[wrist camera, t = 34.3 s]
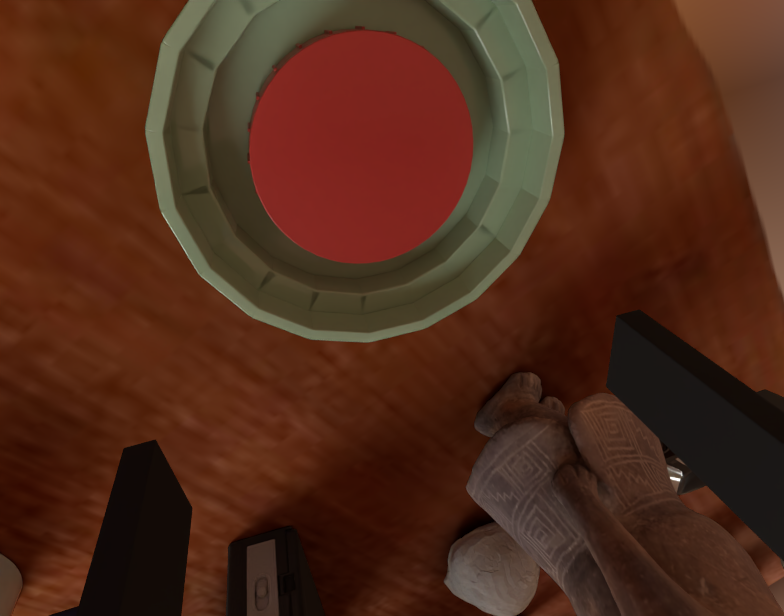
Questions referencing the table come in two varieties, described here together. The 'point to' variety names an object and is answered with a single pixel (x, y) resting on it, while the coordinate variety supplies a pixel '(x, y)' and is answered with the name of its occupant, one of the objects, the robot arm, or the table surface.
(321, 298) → the dish
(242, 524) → the table surface
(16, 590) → the jar
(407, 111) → the lid
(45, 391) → the table surface
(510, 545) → the pebble
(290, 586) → the camera
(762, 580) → the clay figurine
